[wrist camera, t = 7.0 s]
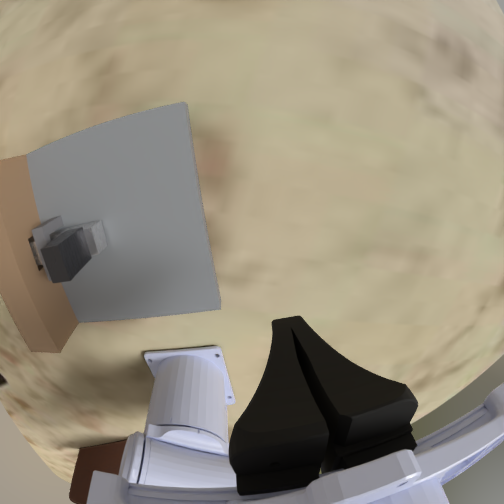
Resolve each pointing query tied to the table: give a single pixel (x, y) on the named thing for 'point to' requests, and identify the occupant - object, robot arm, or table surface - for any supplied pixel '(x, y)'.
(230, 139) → the table surface
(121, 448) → the letter holder
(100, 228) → the bolt
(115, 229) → the door and jamb
